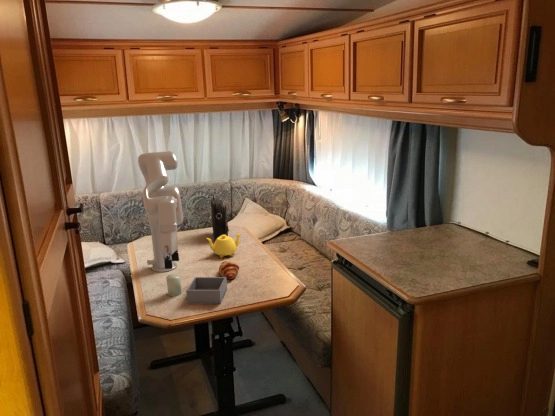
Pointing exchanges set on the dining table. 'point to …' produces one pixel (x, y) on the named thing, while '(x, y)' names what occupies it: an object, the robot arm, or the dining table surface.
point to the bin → (207, 290)
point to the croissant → (228, 269)
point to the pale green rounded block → (174, 285)
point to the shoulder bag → (218, 217)
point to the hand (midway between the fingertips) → (172, 264)
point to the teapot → (224, 245)
